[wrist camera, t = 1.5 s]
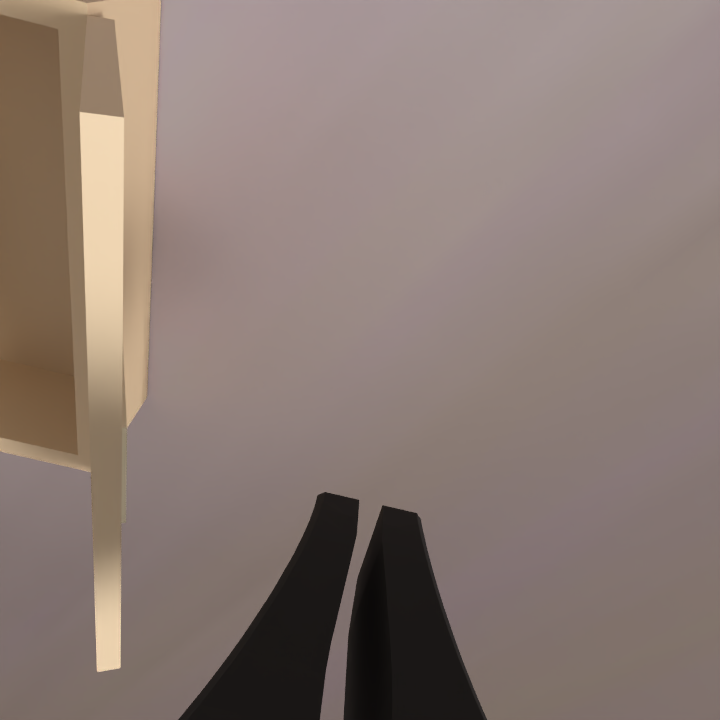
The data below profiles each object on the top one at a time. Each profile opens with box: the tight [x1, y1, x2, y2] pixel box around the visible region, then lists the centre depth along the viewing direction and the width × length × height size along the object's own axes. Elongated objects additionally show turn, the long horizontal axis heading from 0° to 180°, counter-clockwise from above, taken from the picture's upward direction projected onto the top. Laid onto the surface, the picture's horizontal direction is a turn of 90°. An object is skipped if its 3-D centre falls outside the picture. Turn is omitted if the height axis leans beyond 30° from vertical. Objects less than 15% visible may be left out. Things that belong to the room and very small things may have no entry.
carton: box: [0, 0, 161, 472], centre depth 17 cm, size 13×7×4 cm, turn 168°
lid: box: [80, 15, 127, 672], centre depth 13 cm, size 13×6×1 cm
